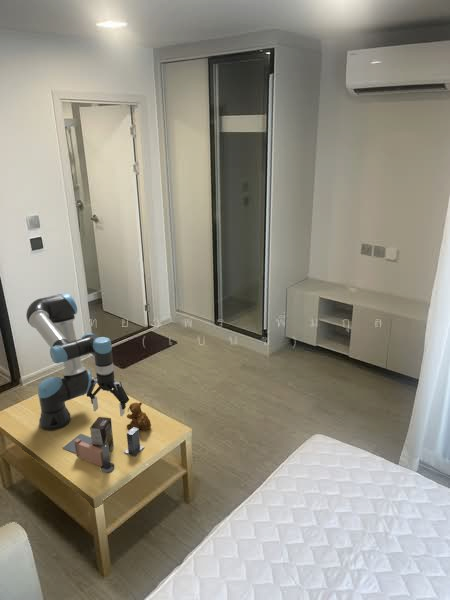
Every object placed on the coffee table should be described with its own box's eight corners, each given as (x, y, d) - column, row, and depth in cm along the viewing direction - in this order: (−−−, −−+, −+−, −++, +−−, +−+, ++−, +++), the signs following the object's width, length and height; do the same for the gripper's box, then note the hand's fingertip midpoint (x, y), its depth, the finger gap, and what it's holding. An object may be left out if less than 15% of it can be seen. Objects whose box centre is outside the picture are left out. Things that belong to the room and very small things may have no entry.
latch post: (124, 453, 209) (122, 433, 205) (133, 444, 215) (132, 425, 211) (134, 456, 206) (133, 437, 202) (144, 447, 212) (142, 428, 208)
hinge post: (97, 470, 198) (95, 448, 194) (106, 462, 203) (104, 440, 199) (108, 474, 195) (105, 452, 191) (117, 466, 201) (115, 444, 196)
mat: (62, 448, 212) (62, 447, 212) (80, 434, 222) (80, 433, 222) (78, 454, 208) (78, 454, 207) (96, 439, 218) (96, 439, 218)
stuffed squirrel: (139, 417, 235) (137, 395, 231) (157, 427, 227) (156, 405, 222) (123, 426, 228) (121, 404, 224) (142, 437, 220) (140, 414, 215)
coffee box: (105, 459, 205) (102, 429, 199) (92, 457, 206) (89, 427, 201) (114, 446, 213) (111, 417, 208) (101, 444, 215) (98, 416, 209)
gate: (105, 463, 201) (103, 447, 198) (102, 466, 199) (100, 450, 196) (79, 453, 207) (77, 438, 204) (76, 456, 205) (74, 440, 202)
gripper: (75, 371, 198) (80, 412, 205) (126, 379, 191) (130, 421, 199) (84, 363, 204) (89, 403, 212) (134, 371, 198) (137, 411, 206)
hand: (109, 412), depth 205 cm, fingers open, 13 cm apart
